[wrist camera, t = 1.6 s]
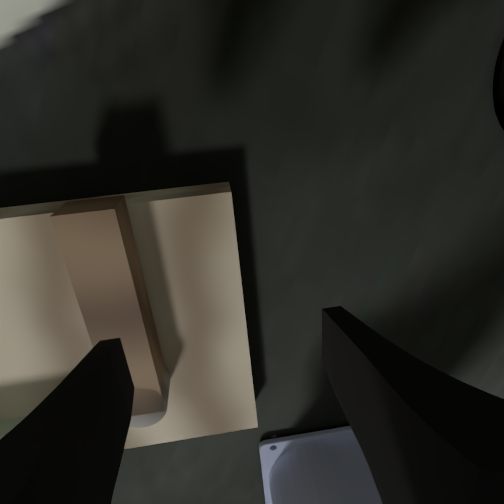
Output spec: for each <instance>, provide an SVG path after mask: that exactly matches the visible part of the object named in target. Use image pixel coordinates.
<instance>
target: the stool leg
mask: <svg viewBox="0 0 504 504" xmlns="http://www.w3.org/2000/svg"><path fill="white" fill-rule="evenodd" d="M49 217H50V220H51V223H52V226H53V229H54V232H55V235H56V238H57V241H58V244H59V247H60V250H61V253H62V256H63V259H64V262H65V265H66V268H67V271H68V274H69V277H70V280H71V283H72V286H73V289H74V292H75V295H76V298H77V301H78V304H79V307H80V310H81V313H82V316H83V319H84V322H85V325H86V328H87V331H88V334H89V337H90V340H91V343H92V346H93V347H94V346H95V345H96V344H97V343H98V342H99V341H100V340H107V339H114V338H120V339H121V343H122V346H123V350H124V353H125V357H126V360H127V363H128V367H129V370H130V374H131V377H132V381H133V384H134V398H133V408H132V416H131V421H130V427H136V428H142V427H148V426H151V425H154V424H156V423H157V422H159V421H160V420H161V419H162V418H163V417H164V416H165V414H166V412H167V406H168V396H169V387H170V375H169V372H168V370H167V369H166V368H165V365H164V361H163V356H162V352H161V348H160V344H159V339H158V335H157V331H156V327H155V323H154V318H153V314H152V310H151V306H150V302H149V297H148V293H147V289H146V285H145V281H144V276H143V272H142V268H141V264H140V260H139V255H138V251H137V247H136V243H135V238H134V234H133V230H132V226H131V222H130V217H129V213H128V209H127V205H126V201H125V196H124V195H121V196H113V197H104V198H95V199H87V200H78V201H69V202H66V203H64V204H63V205H62V206H61V207H60V208H59V209H58V210H56V211H55V212H54V213H53V214H52V215H51V216H49Z"/></svg>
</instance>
